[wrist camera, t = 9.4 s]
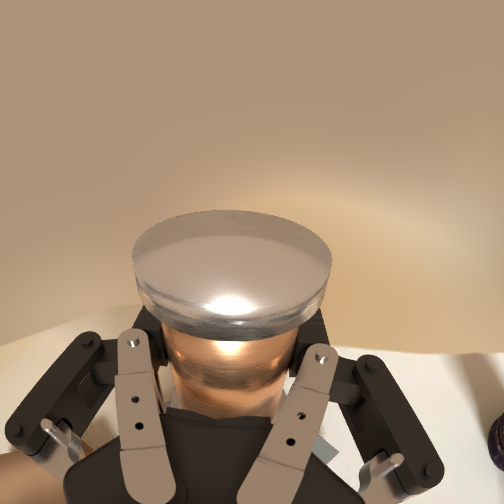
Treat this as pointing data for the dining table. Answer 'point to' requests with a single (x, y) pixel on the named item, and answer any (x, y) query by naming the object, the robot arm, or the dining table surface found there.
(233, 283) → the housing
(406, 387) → the dining table surface
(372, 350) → the dining table surface
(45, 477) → the walnut stand
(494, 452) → the dark blue cylinder
